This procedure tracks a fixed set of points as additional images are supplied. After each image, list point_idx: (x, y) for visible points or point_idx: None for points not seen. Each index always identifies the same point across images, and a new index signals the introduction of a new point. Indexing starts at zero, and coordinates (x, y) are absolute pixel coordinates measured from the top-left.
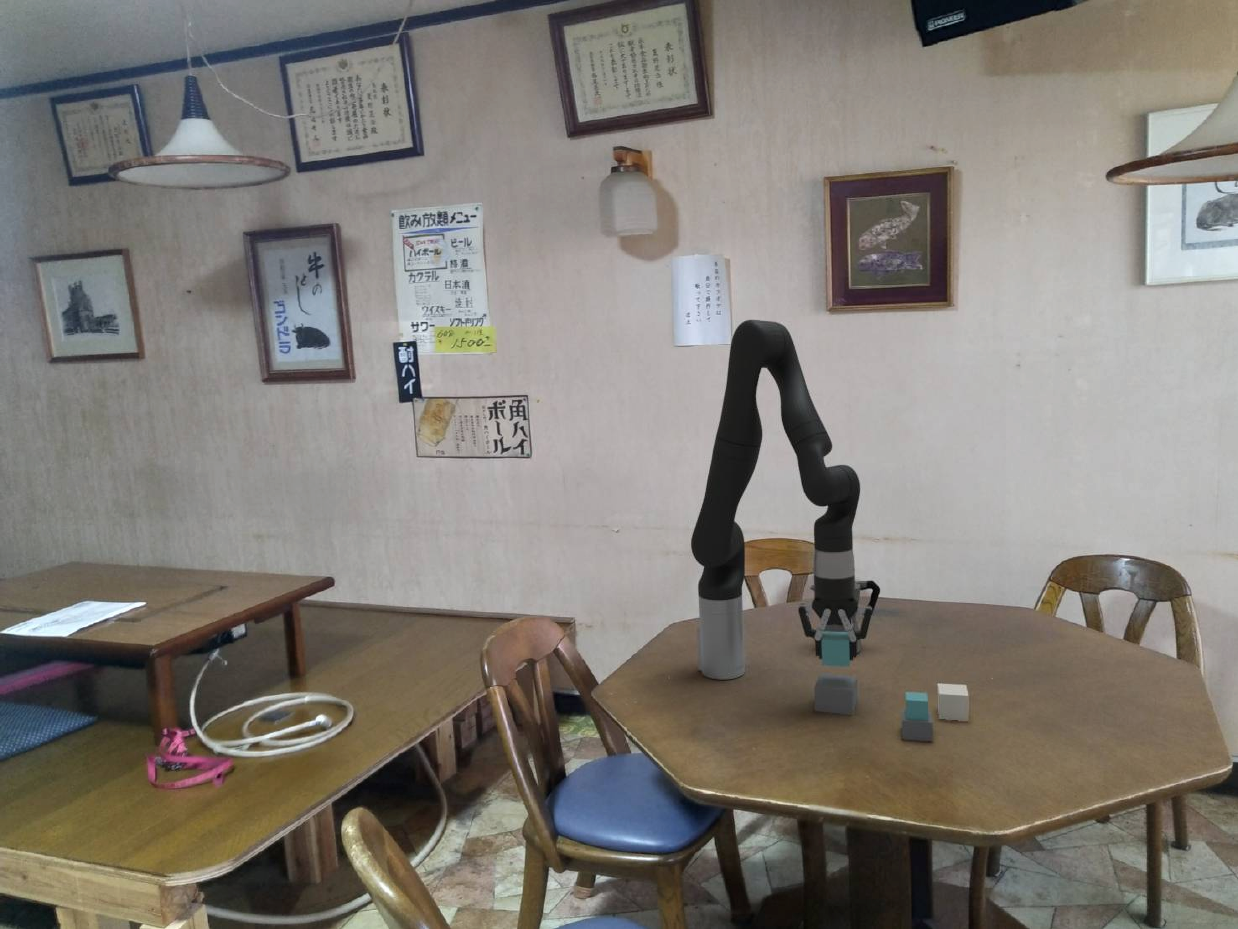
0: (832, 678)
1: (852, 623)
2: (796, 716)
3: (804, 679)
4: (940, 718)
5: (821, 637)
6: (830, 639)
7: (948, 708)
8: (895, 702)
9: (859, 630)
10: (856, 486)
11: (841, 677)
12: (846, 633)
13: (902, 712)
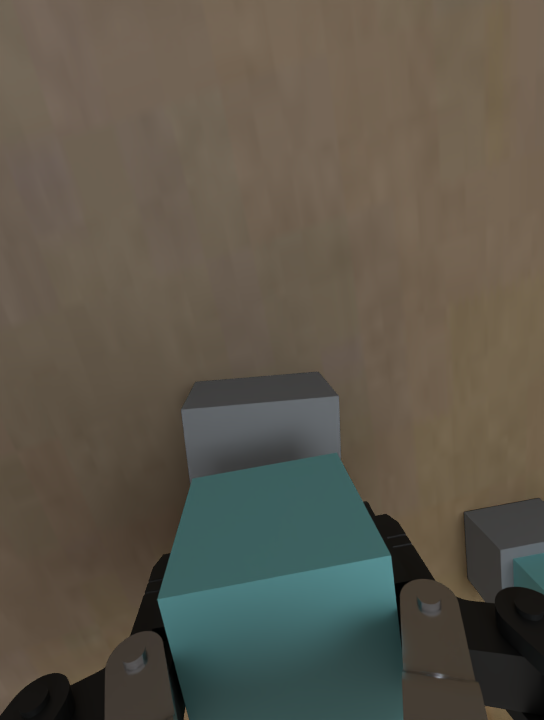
0: (245, 448)
1: (479, 691)
2: (165, 546)
3: (89, 240)
4: None
5: (183, 704)
6: None
7: None
8: (438, 348)
9: (512, 654)
10: None
11: (278, 424)
12: (368, 592)
13: (503, 575)
